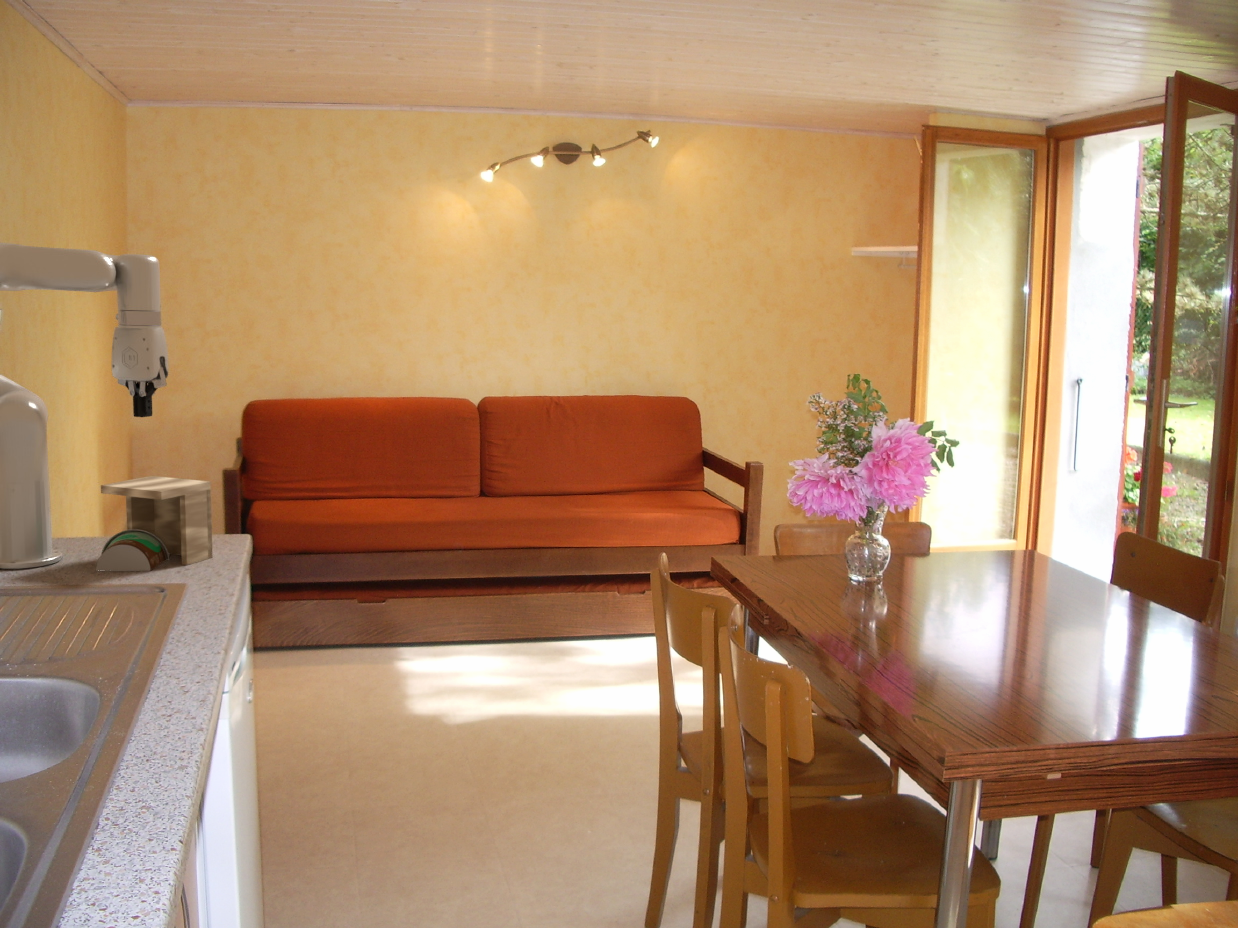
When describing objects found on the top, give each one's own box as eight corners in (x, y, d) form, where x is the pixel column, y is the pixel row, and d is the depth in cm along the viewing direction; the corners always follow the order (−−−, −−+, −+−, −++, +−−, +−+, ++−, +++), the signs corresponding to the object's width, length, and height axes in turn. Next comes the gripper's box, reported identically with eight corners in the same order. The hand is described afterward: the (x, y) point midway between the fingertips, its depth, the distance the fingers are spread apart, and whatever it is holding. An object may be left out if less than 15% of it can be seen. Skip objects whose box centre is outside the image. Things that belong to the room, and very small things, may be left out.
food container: (86, 538, 194) (102, 527, 204) (87, 571, 195) (103, 558, 205) (158, 537, 196) (170, 526, 206) (159, 570, 197) (171, 557, 207)
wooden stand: (103, 564, 201) (100, 485, 198) (154, 550, 213) (152, 475, 211) (163, 572, 196) (161, 491, 194) (212, 557, 208) (210, 481, 206)
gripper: (93, 319, 202) (97, 415, 205) (156, 321, 197) (160, 420, 200) (123, 319, 209) (127, 412, 212) (185, 321, 204) (188, 417, 207)
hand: (143, 416), depth 206 cm, fingers closed
